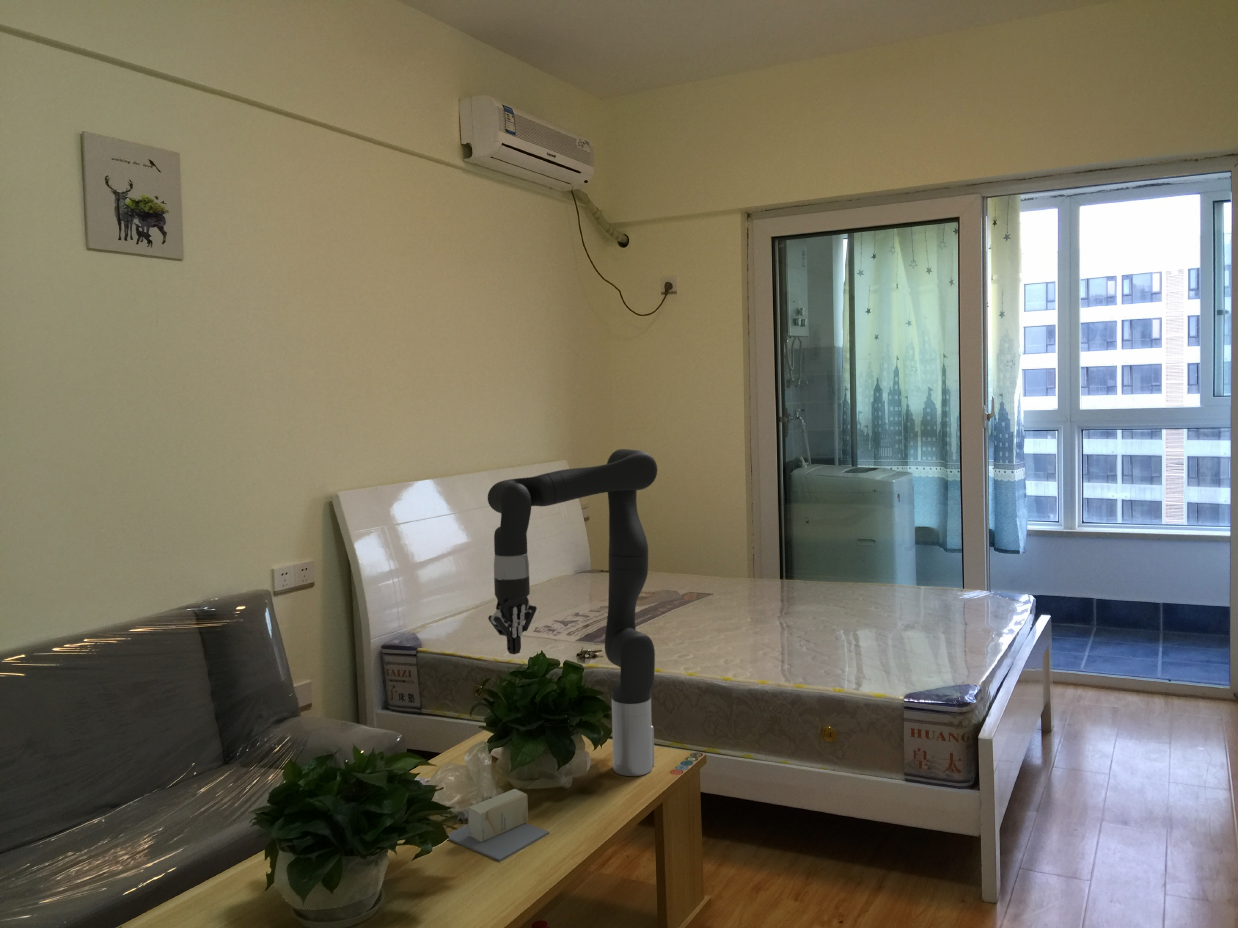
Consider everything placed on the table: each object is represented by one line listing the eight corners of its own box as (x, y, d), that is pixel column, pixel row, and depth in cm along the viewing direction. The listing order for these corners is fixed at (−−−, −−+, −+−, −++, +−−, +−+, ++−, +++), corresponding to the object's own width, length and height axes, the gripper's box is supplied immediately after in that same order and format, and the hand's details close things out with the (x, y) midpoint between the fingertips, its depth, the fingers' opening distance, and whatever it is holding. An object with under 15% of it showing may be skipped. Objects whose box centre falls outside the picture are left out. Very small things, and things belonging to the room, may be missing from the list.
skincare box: (528, 821, 199) (481, 844, 191) (514, 815, 203) (468, 836, 194) (527, 792, 199) (480, 813, 190) (513, 786, 202) (467, 806, 193)
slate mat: (494, 812, 205) (494, 810, 205) (549, 833, 195) (549, 831, 195) (444, 837, 194) (443, 835, 194) (499, 861, 184) (499, 859, 184)
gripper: (520, 567, 214) (523, 643, 215) (476, 577, 204) (479, 657, 205) (545, 570, 209) (547, 648, 211) (502, 581, 199) (504, 663, 200)
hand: (514, 653), depth 208 cm, fingers closed
